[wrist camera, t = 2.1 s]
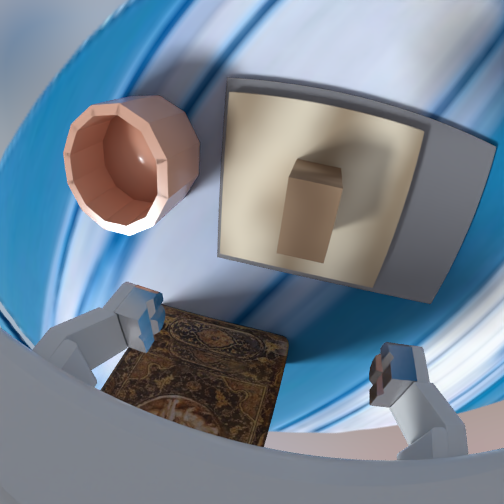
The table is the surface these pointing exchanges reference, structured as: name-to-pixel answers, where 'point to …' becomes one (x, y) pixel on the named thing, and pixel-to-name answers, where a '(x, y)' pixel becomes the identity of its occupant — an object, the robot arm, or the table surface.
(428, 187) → the mat
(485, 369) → the table surface
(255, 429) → the book
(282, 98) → the board
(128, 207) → the bowl
